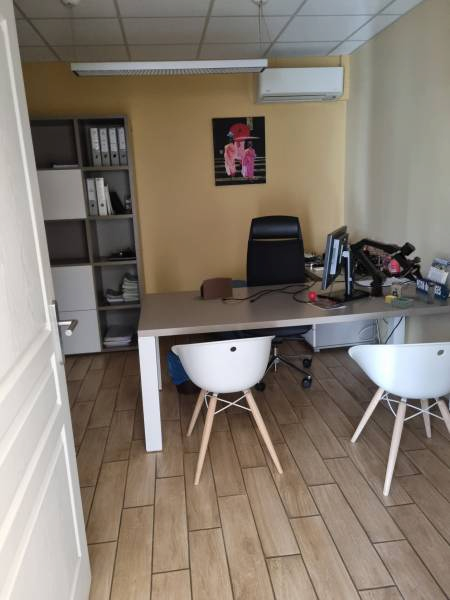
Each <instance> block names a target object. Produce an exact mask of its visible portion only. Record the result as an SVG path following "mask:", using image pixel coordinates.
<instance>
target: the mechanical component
mask: <svg viewBox="0 0 450 600" xmlns="http://www.w3.org/2000/svg"><path fill="white" fill-rule="evenodd" d="M392 285H400V286H403V287H402V288H401V292H403V289H405V290H406V289H409V286H410V282H406V283H405V284H404V282H403V281H392V282H391V286H392ZM395 290H398V288H395Z"/></svg>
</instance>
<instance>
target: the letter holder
mask: <svg viewBox="0 0 450 600" xmlns="http://www.w3.org/2000/svg"><path fill="white" fill-rule="evenodd" d="M233 288H234V287H233V278H231V277H213V278H208V279H204V280H203V281H202V283H201V285H200V288H199V290H200V291H199V293H200V298H201V299H202V300H203V301H207V300H208V301H209V300H210V299H211V300H219V298H222V299H229V298H228V297H232V298H233V297H234V294H233V293H234V292H233V291H234V290H233Z"/></svg>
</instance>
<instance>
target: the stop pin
mask: <svg viewBox="0 0 450 600" xmlns="http://www.w3.org/2000/svg"><path fill="white" fill-rule="evenodd" d="M436 285H437V284H436V282H427V296H426V304H429V305H433V304H434V303H435V302H434V301H435V287H436Z"/></svg>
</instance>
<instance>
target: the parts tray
mask: <svg viewBox="0 0 450 600" xmlns="http://www.w3.org/2000/svg"><path fill="white" fill-rule="evenodd" d="M414 300H415V299H413V298H407V297H402V296H401V297H398V298H395V299H391V304H390V307H394V308H399V309H404V310H405V309H408V308H411V307H414Z"/></svg>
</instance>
